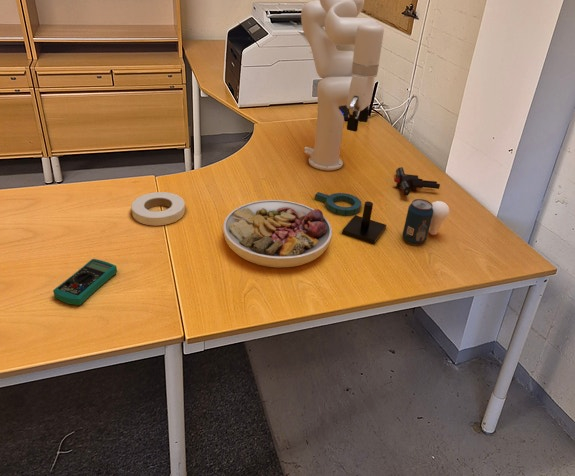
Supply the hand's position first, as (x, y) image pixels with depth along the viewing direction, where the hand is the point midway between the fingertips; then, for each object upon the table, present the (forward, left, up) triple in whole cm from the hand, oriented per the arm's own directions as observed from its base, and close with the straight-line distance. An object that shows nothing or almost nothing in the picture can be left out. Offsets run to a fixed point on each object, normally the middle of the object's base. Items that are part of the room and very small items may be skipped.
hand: (357, 125), depth 159 cm
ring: (0, -9, -24) cm, 25 cm away
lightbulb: (+31, -9, -24) cm, 40 cm away
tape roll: (-43, -44, -24) cm, 66 cm away
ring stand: (+13, -19, -24) cm, 33 cm away
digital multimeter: (-35, -80, -24) cm, 90 cm away
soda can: (+27, -15, -24) cm, 39 cm away
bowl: (-6, -38, -24) cm, 45 cm away
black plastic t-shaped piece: (+18, +17, -24) cm, 35 cm away
